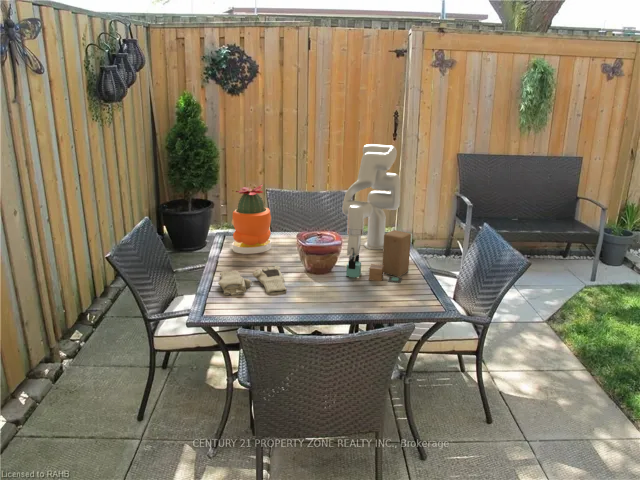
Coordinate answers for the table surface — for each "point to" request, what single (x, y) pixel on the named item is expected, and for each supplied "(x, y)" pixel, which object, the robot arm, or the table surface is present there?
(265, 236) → the potted cactus
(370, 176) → the robot arm
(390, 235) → the wooden block
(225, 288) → the pair of gloves
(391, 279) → the card
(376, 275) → the walnut cube
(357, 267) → the teal cube
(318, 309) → the table surface
